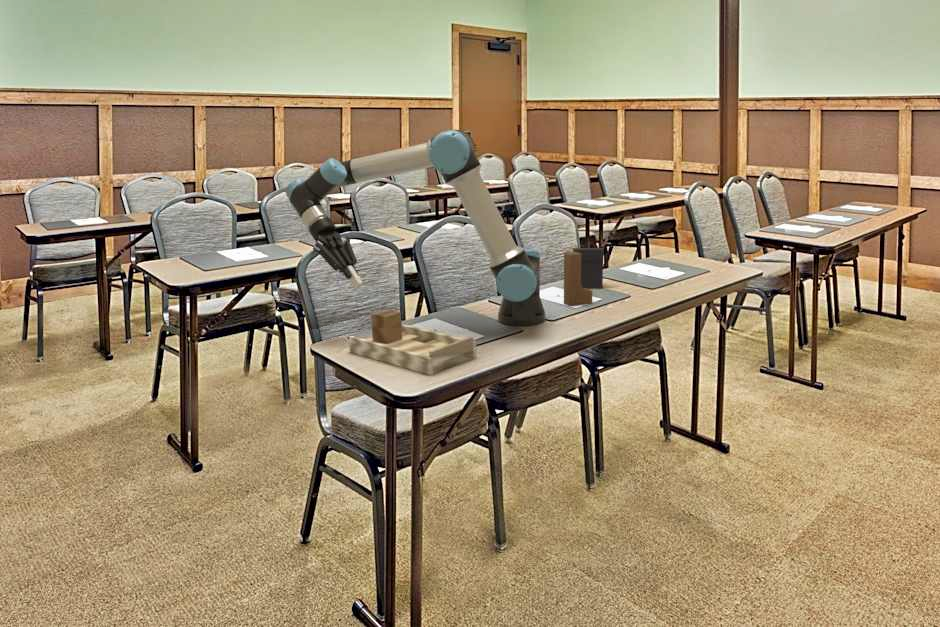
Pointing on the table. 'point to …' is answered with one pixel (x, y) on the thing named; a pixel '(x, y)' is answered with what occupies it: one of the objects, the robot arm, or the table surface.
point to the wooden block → (574, 281)
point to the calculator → (591, 267)
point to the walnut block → (386, 326)
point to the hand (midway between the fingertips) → (358, 285)
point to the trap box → (418, 350)
